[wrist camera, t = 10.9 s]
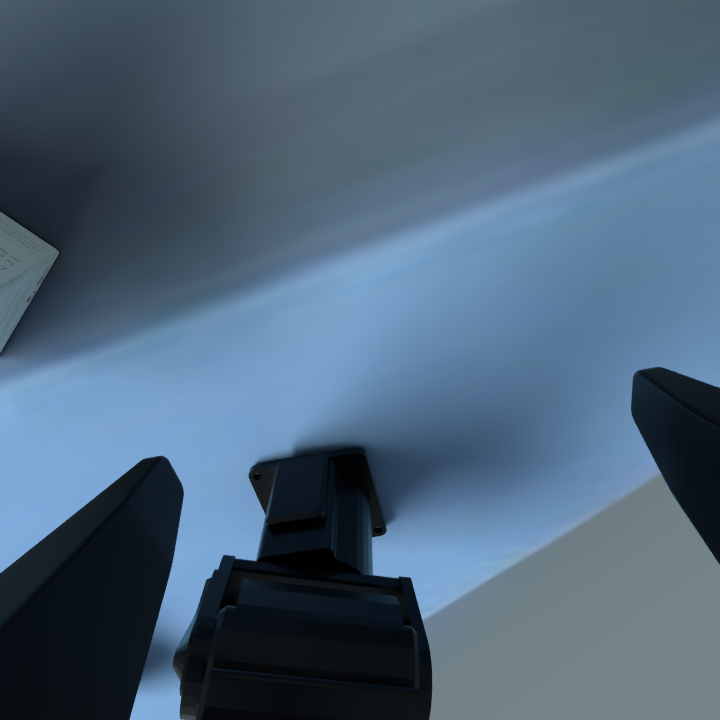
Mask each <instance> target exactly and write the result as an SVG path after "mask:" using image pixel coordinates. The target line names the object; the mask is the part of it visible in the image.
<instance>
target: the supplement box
mask: <svg viewBox="0 0 720 720" xmlns="http://www.w3.org/2000/svg"><path fill="white" fill-rule="evenodd" d="M58 254H59V251H58V250H57V249H55V248H54V247H52V246H51V245H49V244H48V243H46V242H45V241H43V240H42V239H40V238H39V237H37V236H36V235H34V234H33V233H31V232H30V231H28V230H27V229H25V228H24V227H22V226H21V225H19V224H18V223H16V222H15V221H13V220H12V219H10V218H9V217H7V216H6V215H5V214H3V213H2V212H0V353H1V351H2V349H3V348H4V346H5V344H6V342H7V341H8V339H9V337H10V336H11V334H12V332H13V331H14V329H15V327H16V325H17V324H18V322H19V320H20V319H21V317H22V315H23V314H24V312H25V310H26V309H27V307H28V305H29V304H30V302H31V300H32V299H33V297H34V295H35V294H36V292H37V290H38V289H39V287H40V285H41V284H42V282H43V280H44V278H45V277H46V275H47V273H48V271H49V270H50V268H51V266H52V265H53V263H54V261H55V260H56V258H57V256H58Z"/></svg>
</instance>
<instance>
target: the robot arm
mask: <svg viewBox="0 0 720 720" xmlns="http://www.w3.org/2000/svg"><path fill="white" fill-rule="evenodd" d="M631 412H632V416H633V419H634V421H635V423H636V425H637V427H638V429H639V431H640V433H641V435H642V437H643V439H644V441H645V443H646V445H647V447H648V449H649V451H650V453H651V455H652V456H653V458H654V460H655V462H656V464H657V466H658V468H659V470H660V472H661V474H662V476H663V478H664V480H665V481H666V483H667V485H668V487H669V489H670V491H671V492H672V494H673V495H674V497H675V499H676V500H677V502H678V503H679V505H680V506H681V508H682V509H683V511H684V512H685V514H686V515H687V517H688V518H689V520H690V521H691V523H692V524H693V526H694V527H695V529H696V530H697V532H698V533H699V534H700V536H701V537H702V539H703V540H704V542H705V543H706V545H707V546H708V548H709V549H710V551H711V552H712V554H713V555H714V557H715V558H716V560H717V561H718V563H719V564H720V388H718V387H715V386H713V385H710V384H707V383H704V382H702V381H699V380H696V379H693V378H690V377H688V376H685V375H682V374H679V373H676V372H674V371H671V370H668V369H665V368H662V367H654V368H649V369H643V370H638V371H637V372H636V373H635V374H634V376H633V386H632V401H631ZM356 456H359V457H361V458H354V457H356ZM256 473H259V474H261V475H257V474H256ZM249 479H250V481H251V484H252V486H253V488H254V490H255V492H256V495H257V497H258V499H259V501H260V504H261V506H262V508H263V510H264V512H265V515H266V517H265V521H264V526H263V531H262V535H261V540H260V545H259V550H258V554H257V559H256V561H252V560H244V559H235V558H236V556H229V555H223V558H222V561H221V563H220V566H219V569H218V570H216V569H215V570H214V572H213V575H212V577H211V578H209V579H207V580H206V583H205V586H204V589H203V593H202V596H201V599H200V602H199V605H198V608H197V611H196V614H195V616H194V618H193V620H192V622H191V624H190V626H189V627H188V629H187V631H186V633H185V635H184V637H183V638H182V640H181V642H180V644H179V646H178V648H177V650H176V652H175V656H174V660H173V669H174V671H175V672H176V674H177V676H178V678H179V679H180V681H181V684H180V696H182V697H181V705H180V719H182V720H429V717H430V710H431V699H432V667H431V666H432V665H431V657H430V649H429V644H428V640H427V636H426V633H425V629H424V625H423V621H422V618H421V614H420V610H419V607H418V603H417V599H416V595H415V592H414V588H413V584H412V581H411V578H408V577H400V576H399V577H398V578H391V577H383V576H375V575H373V560H372V537H376V536H381V535H384V534H385V533H386V530H387V529H386V521H385V517H384V514H383V510H382V507H381V503H380V500H379V496H378V493H377V489H376V485H375V482H374V478H373V475H372V471H371V468H370V464H369V461H368V457H367V453H366V452H365V450H363V449H362V448H351V449H345V450H340V451H334V452H328V453H322V454H316V455H311V456H305V457H299V458H293V459H287V460H282V461H276V462H270V463H264V464H258V465H254V466H253V467H251V469H250V472H249ZM183 496H184V491H183V487H182V484H181V482H180V480H179V478H178V476H177V475H176V473H175V471H174V469H173V467H172V465H171V464H170V462H169V460H168V459H167V458H166V457H164V456H157V457H151V458H146V459H143V460H141V461H140V462H139V463H138V464H136V465H135V466H134V467H133V468H131V469H130V470H129V471H128V472H126V473H125V474H124V475H123V476H121V477H120V478H119V479H118V480H116V481H115V482H114V483H113V484H111V485H110V486H109V487H108V488H106V489H105V490H104V491H103V492H101V493H100V494H99V495H98V496H96V497H95V498H94V499H93V500H91V501H90V502H89V503H88V504H86V505H85V506H84V507H83V508H81V509H80V510H79V511H78V512H76V513H75V514H74V515H73V516H71V517H70V518H69V519H68V520H66V521H65V522H64V523H63V524H61V525H60V526H59V527H58V528H56V529H55V530H54V531H53V532H51V533H50V534H49V535H48V536H46V537H45V538H44V539H43V540H41V541H40V542H39V543H38V544H36V545H35V546H34V547H33V548H31V549H30V550H29V551H28V552H26V553H25V554H24V555H23V556H21V557H20V558H19V559H18V560H16V561H15V562H14V563H13V564H11V565H10V566H9V567H8V568H6V569H5V570H4V571H3V572H1V573H0V720H129V719H130V716H131V712H132V708H133V705H134V701H135V698H136V694H137V690H138V687H139V683H140V680H141V676H142V672H143V669H144V665H145V662H146V658H147V654H148V651H149V647H150V644H151V640H152V636H153V633H154V629H155V626H156V622H157V618H158V615H159V611H160V608H161V604H162V600H163V597H164V593H165V590H166V586H167V582H168V579H169V575H170V571H171V567H172V562H173V557H174V551H175V545H176V539H177V533H178V527H179V521H180V515H181V509H182V503H183ZM376 527H379V528H376Z"/></svg>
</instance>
